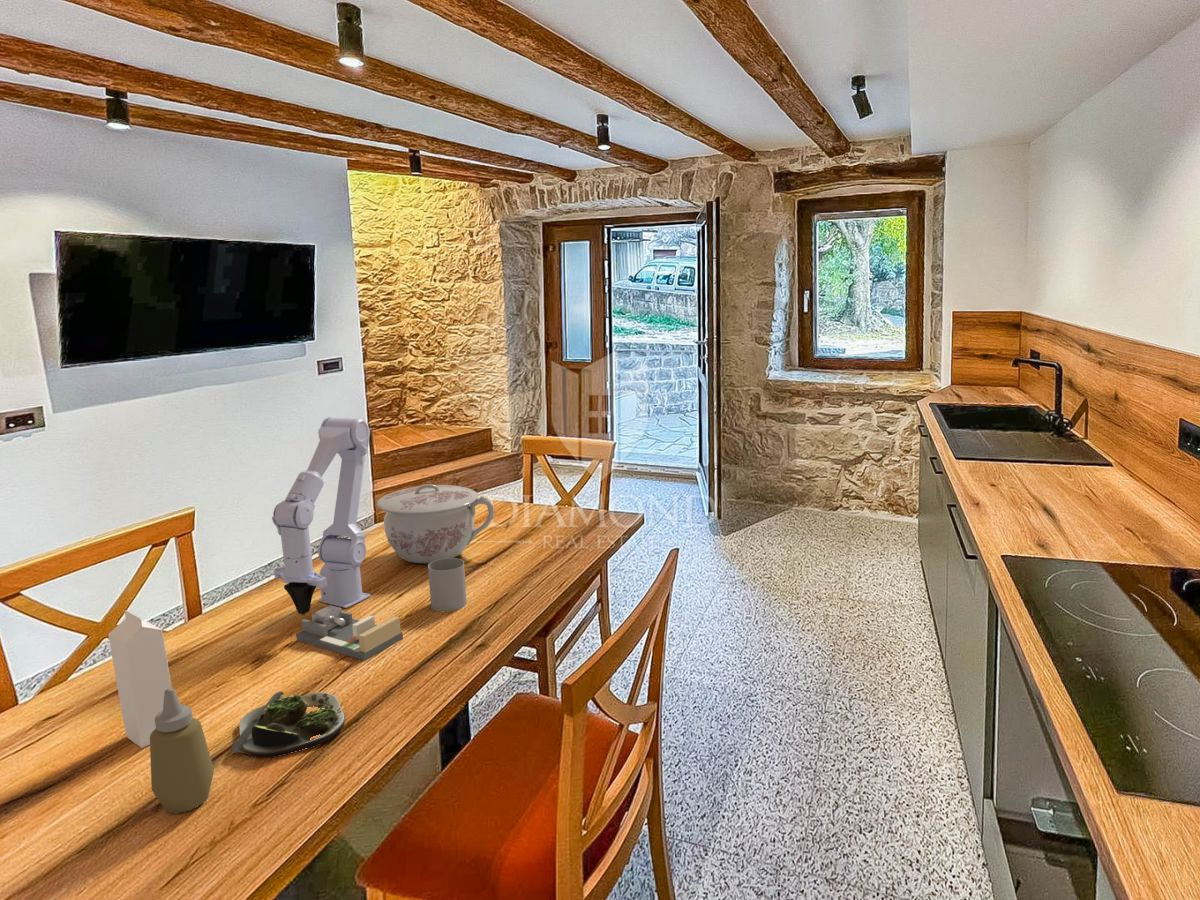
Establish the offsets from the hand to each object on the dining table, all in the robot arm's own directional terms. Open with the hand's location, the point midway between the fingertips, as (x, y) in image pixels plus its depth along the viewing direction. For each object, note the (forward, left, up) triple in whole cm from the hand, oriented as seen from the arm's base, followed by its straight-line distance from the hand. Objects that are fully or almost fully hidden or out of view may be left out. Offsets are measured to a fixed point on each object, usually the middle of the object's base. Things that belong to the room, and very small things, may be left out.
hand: (304, 612), depth 169 cm
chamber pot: (-5, +48, -4) cm, 48 cm away
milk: (+11, -41, -4) cm, 43 cm away
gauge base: (+14, 0, -3) cm, 14 cm away
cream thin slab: (+18, -1, -1) cm, 18 cm away
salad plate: (+31, -29, -4) cm, 42 cm away
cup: (+21, +24, -4) cm, 32 cm away
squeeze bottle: (+33, -49, -4) cm, 59 cm away
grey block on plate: (+9, 0, -2) cm, 9 cm away
